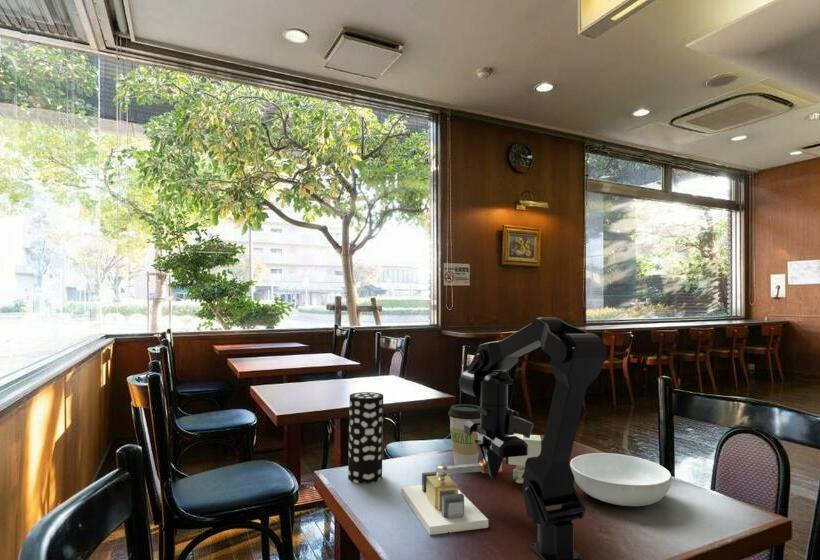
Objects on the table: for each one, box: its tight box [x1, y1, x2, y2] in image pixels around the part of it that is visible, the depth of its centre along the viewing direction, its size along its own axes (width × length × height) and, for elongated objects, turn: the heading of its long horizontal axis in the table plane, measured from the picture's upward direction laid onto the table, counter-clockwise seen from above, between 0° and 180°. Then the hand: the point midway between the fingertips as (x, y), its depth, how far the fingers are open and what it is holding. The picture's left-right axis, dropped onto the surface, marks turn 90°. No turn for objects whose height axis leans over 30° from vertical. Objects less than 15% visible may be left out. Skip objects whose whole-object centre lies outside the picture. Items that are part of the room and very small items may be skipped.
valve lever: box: [436, 460, 503, 481], centre depth 105 cm, size 14×2×3 cm, turn 106°
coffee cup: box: [447, 403, 480, 465], centre depth 131 cm, size 10×10×15 cm
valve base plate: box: [400, 484, 489, 536], centre depth 103 cm, size 20×12×2 cm, turn 16°
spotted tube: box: [347, 391, 384, 484], centre depth 121 cm, size 8×8×20 cm
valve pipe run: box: [421, 471, 465, 519], centre depth 103 cm, size 16×5×4 cm, turn 16°
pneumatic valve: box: [503, 433, 544, 485], centre depth 119 cm, size 6×12×12 cm, turn 78°
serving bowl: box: [569, 452, 672, 507], centre depth 110 cm, size 21×21×7 cm
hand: (493, 477), depth 103 cm, fingers closed
